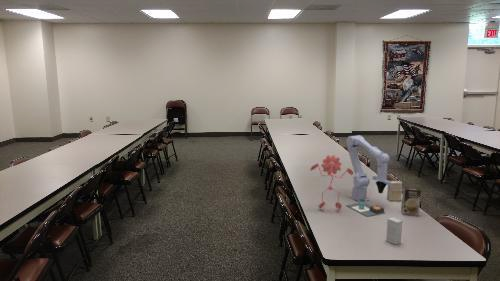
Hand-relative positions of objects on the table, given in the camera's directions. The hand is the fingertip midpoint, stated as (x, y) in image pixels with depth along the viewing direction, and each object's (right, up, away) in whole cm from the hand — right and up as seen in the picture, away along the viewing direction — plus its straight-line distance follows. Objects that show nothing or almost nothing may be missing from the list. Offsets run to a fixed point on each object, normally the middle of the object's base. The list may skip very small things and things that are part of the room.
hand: (380, 192), depth 235 cm
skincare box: (-10, -19, -47) cm, 51 cm away
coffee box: (+15, -12, -9) cm, 21 cm away
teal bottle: (-13, -9, -3) cm, 17 cm away
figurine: (-33, -10, -1) cm, 35 cm away
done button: (-5, -10, -8) cm, 13 cm away
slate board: (-11, -10, -3) cm, 15 cm away
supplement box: (+14, -7, +14) cm, 21 cm away
